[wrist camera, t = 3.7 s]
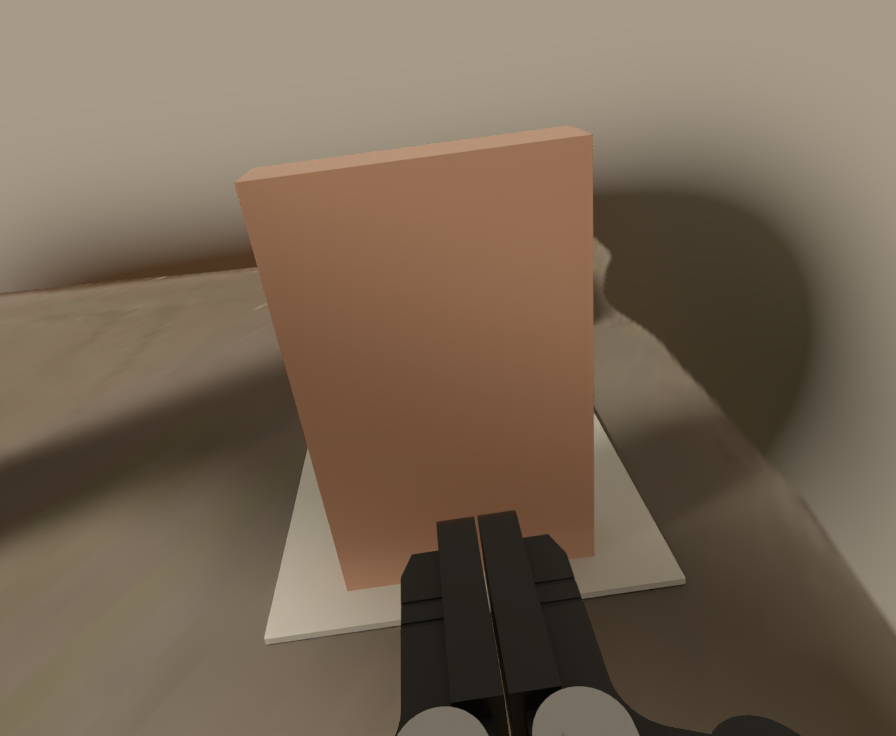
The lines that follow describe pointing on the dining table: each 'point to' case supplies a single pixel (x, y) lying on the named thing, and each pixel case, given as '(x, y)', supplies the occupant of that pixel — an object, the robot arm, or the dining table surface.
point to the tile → (437, 336)
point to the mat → (606, 573)
